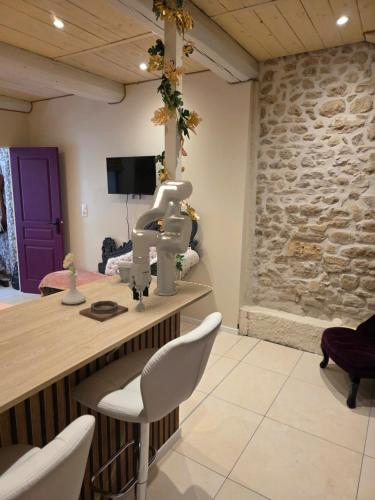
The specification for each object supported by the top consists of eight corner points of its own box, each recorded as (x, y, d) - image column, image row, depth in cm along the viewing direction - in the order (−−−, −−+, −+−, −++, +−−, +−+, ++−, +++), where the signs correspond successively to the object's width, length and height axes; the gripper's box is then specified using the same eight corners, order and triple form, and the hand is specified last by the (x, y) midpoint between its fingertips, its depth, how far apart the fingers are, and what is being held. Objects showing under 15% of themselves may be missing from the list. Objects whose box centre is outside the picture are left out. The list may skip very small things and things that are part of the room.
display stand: (106, 304, 159) (106, 297, 158) (128, 310, 152) (128, 303, 151) (79, 314, 146) (79, 306, 145) (101, 322, 138) (101, 314, 138)
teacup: (109, 281, 196) (108, 265, 194) (128, 277, 207) (128, 261, 205) (122, 286, 188) (122, 269, 186) (141, 281, 200) (141, 264, 198)
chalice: (135, 312, 149) (135, 274, 146) (130, 307, 155) (130, 270, 152) (150, 310, 153) (151, 272, 149) (145, 305, 159) (145, 269, 155)
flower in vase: (61, 299, 164) (59, 249, 160) (85, 297, 168) (84, 248, 163) (60, 308, 152) (57, 254, 147) (86, 306, 156) (84, 253, 151)
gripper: (146, 255, 159) (146, 291, 162) (121, 261, 145) (121, 301, 148) (159, 257, 155) (158, 295, 158) (134, 264, 141) (134, 305, 144)
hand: (140, 297), depth 153 cm, fingers open, 5 cm apart
